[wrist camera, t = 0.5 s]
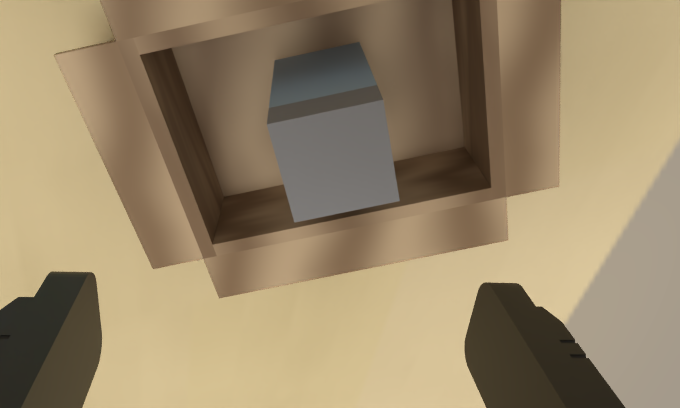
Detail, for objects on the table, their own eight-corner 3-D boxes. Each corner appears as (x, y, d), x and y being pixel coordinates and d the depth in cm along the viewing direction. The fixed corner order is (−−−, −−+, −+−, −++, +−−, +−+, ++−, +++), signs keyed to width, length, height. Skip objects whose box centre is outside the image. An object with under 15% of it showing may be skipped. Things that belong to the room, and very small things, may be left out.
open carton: (513, -131, 28) (562, -135, 23) (522, 182, 37) (558, 230, 32) (71, -30, 29) (22, -13, 24) (188, 251, 38) (171, 307, 33)
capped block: (359, 41, 31) (383, 99, 23) (373, 121, 34) (399, 200, 25) (274, 60, 32) (266, 124, 23) (294, 138, 34) (294, 222, 26)
